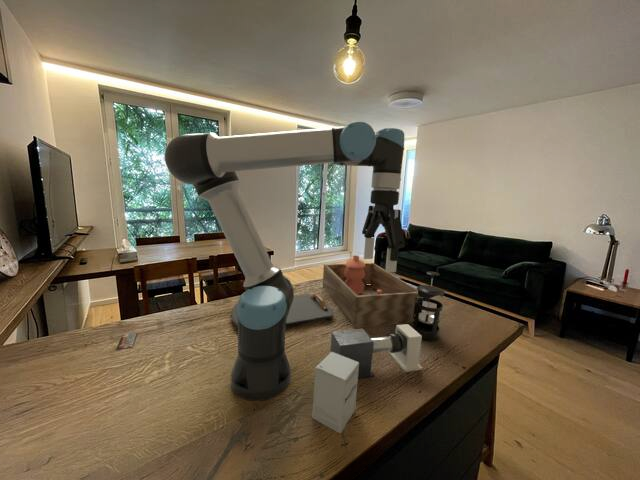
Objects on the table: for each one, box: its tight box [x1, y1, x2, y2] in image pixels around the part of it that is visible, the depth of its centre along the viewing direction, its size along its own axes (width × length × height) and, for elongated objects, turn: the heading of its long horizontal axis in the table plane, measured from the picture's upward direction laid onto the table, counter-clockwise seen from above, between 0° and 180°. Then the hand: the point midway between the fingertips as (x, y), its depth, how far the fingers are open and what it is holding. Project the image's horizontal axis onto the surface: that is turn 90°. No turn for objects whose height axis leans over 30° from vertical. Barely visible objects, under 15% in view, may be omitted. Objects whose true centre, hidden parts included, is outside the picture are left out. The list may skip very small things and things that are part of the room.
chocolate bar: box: [115, 332, 139, 351], centre depth 85 cm, size 11×5×1 cm, turn 26°
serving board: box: [230, 293, 334, 327], centre depth 107 cm, size 39×23×6 cm, turn 115°
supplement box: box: [311, 351, 359, 434], centre depth 60 cm, size 7×7×13 cm
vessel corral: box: [322, 262, 421, 329], centre depth 122 cm, size 27×41×12 cm, turn 15°
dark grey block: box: [330, 328, 376, 380], centre depth 76 cm, size 11×9×10 cm
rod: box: [370, 333, 408, 354], centre depth 79 cm, size 16×5×5 cm, turn 105°
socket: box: [388, 323, 424, 373], centre depth 81 cm, size 6×9×10 cm, turn 16°
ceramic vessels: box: [344, 254, 382, 296], centre depth 120 cm, size 35×21×19 cm, turn 25°
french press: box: [411, 271, 446, 342], centre depth 96 cm, size 12×9×23 cm
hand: (378, 264), depth 79 cm, fingers open, 13 cm apart
